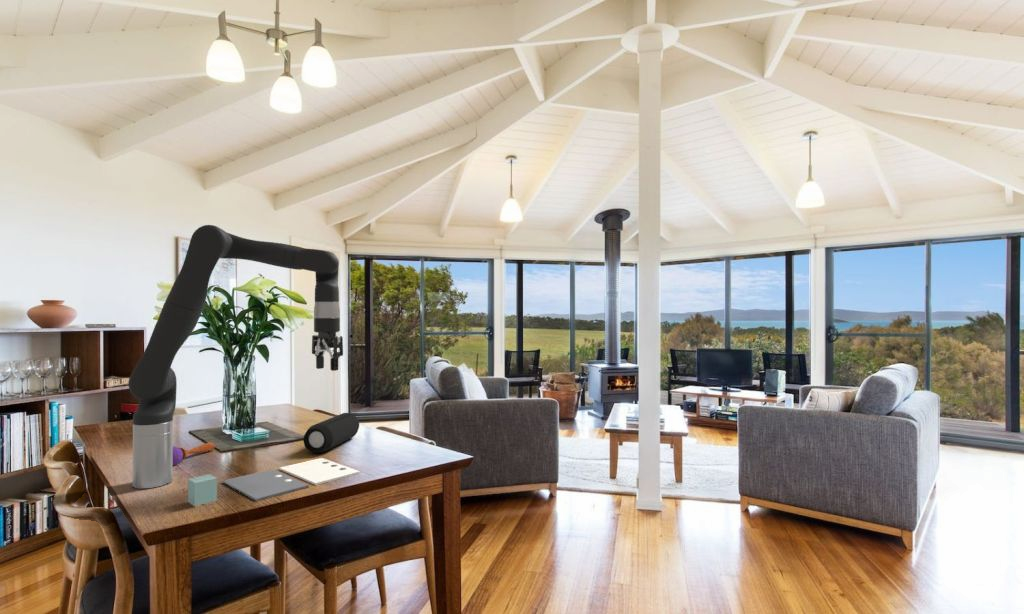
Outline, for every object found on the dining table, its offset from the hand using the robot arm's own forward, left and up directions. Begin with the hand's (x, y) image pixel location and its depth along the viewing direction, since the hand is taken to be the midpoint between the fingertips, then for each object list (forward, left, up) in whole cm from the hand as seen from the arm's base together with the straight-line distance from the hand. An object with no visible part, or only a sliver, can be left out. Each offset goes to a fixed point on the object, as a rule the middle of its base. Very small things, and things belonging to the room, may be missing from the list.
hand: (327, 369), depth 158 cm
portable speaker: (-24, +16, -31) cm, 42 cm away
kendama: (-45, -24, -31) cm, 59 cm away
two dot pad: (+1, -19, -30) cm, 36 cm away
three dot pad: (+1, -3, -30) cm, 31 cm away
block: (+2, -35, -31) cm, 46 cm away
